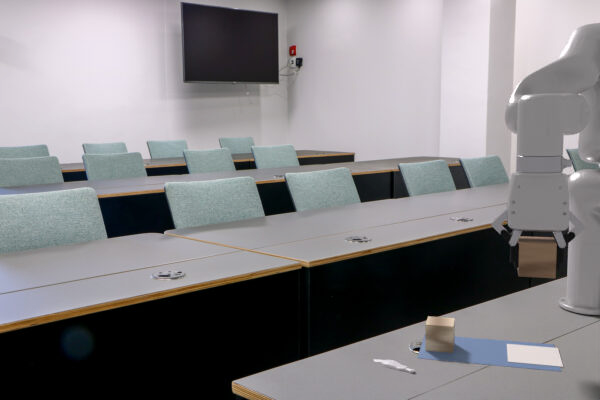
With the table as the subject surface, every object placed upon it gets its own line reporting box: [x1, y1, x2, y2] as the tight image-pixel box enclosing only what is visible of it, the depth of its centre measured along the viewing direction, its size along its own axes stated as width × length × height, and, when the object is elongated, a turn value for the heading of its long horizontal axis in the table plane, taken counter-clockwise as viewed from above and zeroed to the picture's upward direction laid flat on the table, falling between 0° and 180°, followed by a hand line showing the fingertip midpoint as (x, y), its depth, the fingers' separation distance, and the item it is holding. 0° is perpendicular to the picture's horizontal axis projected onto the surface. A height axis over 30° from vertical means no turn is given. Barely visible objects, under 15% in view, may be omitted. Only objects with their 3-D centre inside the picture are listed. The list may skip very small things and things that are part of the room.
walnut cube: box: [516, 235, 557, 279], centre depth 111 cm, size 6×6×6 cm
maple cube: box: [424, 315, 456, 353], centre depth 117 cm, size 5×5×5 cm
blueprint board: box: [417, 334, 564, 372], centre depth 115 cm, size 24×13×1 cm, turn 73°
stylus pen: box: [373, 358, 416, 374], centre depth 111 cm, size 15×3×2 cm, turn 44°
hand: (535, 266), depth 111 cm, fingers closed on walnut cube, 6 cm apart
